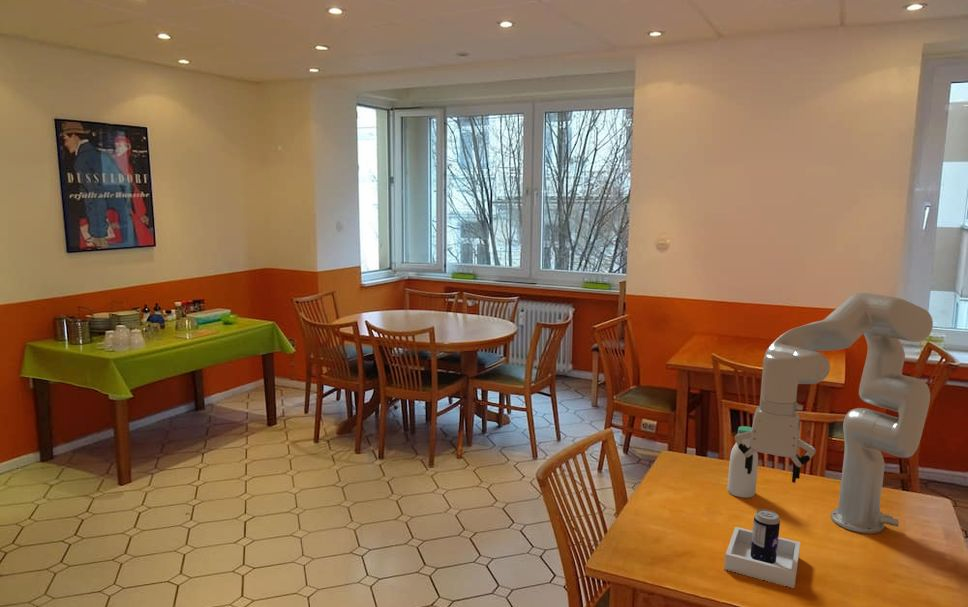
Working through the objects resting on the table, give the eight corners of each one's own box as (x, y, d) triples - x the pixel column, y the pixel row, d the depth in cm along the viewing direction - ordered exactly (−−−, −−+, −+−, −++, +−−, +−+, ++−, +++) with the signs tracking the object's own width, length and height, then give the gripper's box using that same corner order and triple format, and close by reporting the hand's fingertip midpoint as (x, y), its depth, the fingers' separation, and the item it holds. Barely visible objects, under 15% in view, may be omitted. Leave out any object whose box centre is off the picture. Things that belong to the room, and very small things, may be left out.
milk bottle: (759, 499, 193) (765, 433, 190) (732, 498, 193) (738, 432, 190) (749, 487, 200) (754, 424, 197) (723, 486, 201) (728, 423, 197)
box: (798, 557, 162) (800, 542, 161) (794, 588, 149) (795, 572, 148) (734, 541, 169) (735, 526, 168) (724, 569, 156) (725, 554, 155)
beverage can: (773, 570, 155) (778, 522, 153) (748, 562, 158) (752, 515, 156) (777, 559, 160) (782, 512, 158) (752, 552, 163) (756, 506, 161)
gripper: (820, 407, 152) (813, 478, 155) (739, 396, 160) (734, 463, 163) (818, 417, 145) (811, 490, 148) (735, 404, 153) (730, 474, 156)
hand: (771, 476), depth 156 cm, fingers open, 9 cm apart
